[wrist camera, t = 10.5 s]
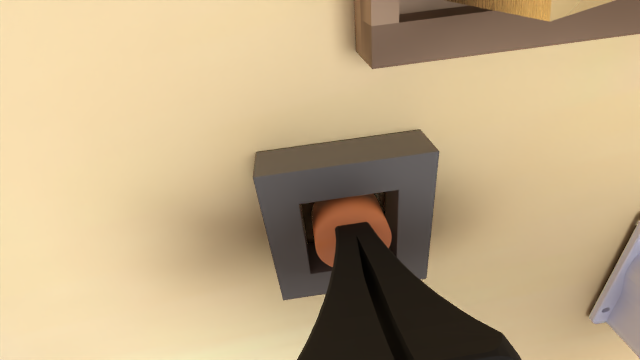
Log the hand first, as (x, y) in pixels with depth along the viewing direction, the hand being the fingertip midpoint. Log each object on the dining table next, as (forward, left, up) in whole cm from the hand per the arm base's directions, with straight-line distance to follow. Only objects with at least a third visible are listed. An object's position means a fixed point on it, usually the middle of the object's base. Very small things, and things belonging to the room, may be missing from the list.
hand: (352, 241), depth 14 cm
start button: (0, 0, -2) cm, 2 cm away
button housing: (0, 0, -2) cm, 2 cm away
